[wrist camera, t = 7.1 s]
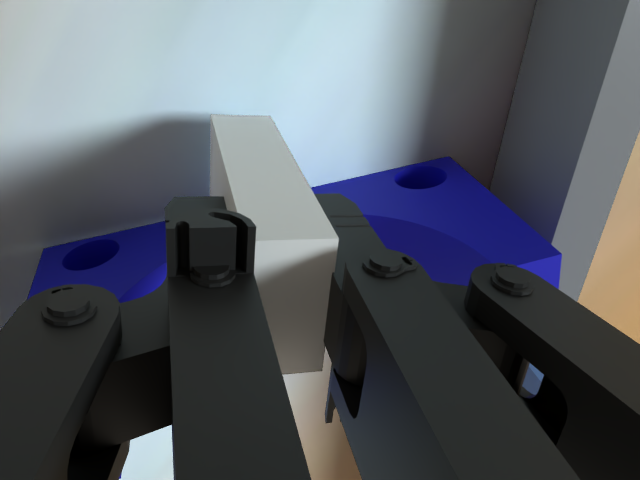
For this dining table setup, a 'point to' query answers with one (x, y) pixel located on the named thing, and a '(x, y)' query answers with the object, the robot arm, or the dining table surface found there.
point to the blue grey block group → (571, 129)
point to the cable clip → (377, 207)
